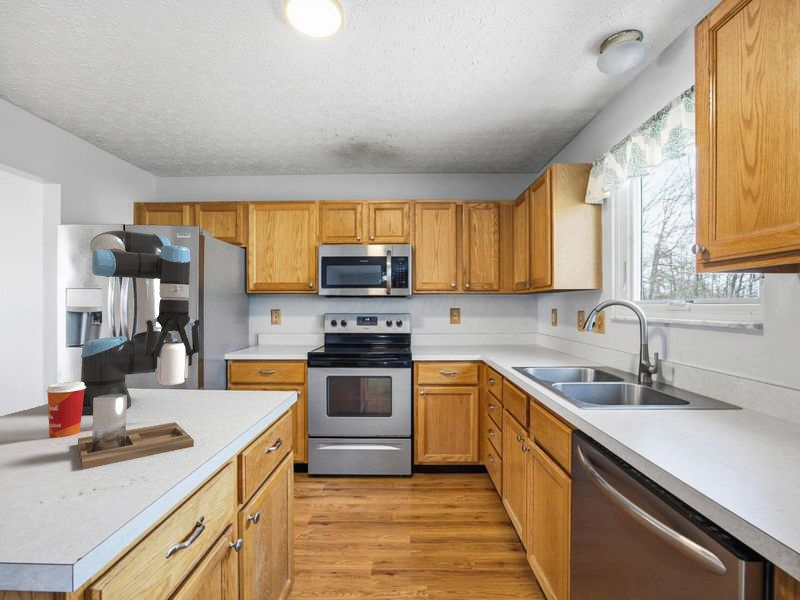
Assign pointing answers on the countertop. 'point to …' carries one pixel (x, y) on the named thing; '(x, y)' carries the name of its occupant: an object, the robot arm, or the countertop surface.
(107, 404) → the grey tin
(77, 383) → the paper cup
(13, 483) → the countertop surface
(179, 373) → the can
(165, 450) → the tray
